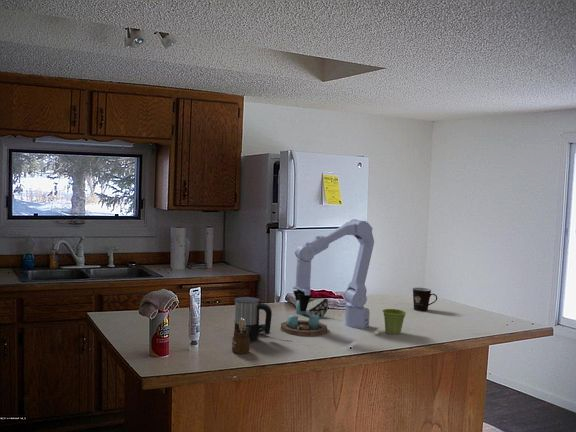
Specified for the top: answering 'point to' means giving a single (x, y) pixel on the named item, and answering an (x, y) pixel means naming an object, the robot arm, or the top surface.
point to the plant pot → (393, 320)
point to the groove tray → (302, 332)
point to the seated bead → (313, 322)
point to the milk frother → (251, 316)
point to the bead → (292, 322)
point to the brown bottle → (241, 340)
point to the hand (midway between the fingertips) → (301, 309)
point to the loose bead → (299, 309)
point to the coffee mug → (422, 298)
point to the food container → (317, 307)
